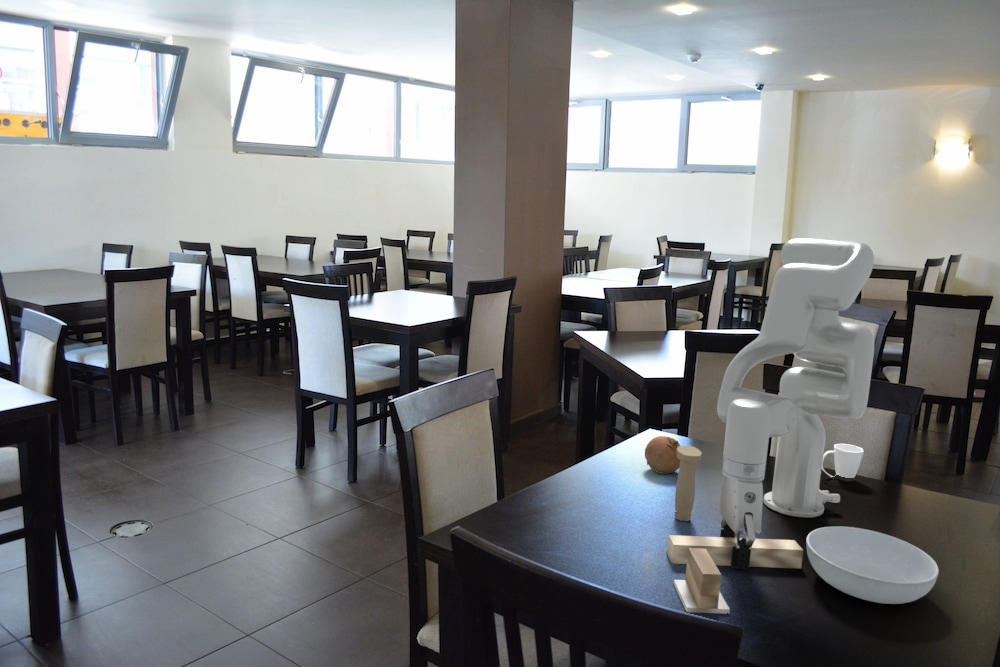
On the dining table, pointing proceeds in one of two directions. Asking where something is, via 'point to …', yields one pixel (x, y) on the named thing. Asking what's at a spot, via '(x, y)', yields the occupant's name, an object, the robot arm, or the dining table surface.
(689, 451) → the handle
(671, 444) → the onion
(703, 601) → the wooden block on base
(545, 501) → the dining table surface
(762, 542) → the beam
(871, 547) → the serving bowl
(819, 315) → the robot arm
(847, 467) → the cup
